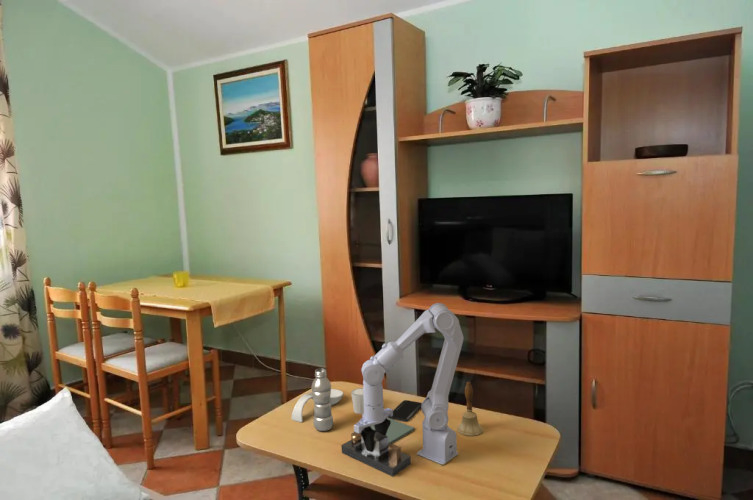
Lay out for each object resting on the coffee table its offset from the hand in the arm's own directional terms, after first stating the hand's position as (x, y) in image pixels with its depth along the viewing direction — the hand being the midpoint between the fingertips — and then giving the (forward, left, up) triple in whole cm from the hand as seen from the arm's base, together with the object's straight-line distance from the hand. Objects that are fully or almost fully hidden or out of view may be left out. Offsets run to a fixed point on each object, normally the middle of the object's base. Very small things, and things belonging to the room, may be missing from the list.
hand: (375, 447), depth 144 cm
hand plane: (0, 0, -3) cm, 3 cm away
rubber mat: (+9, -14, -3) cm, 17 cm away
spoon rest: (+40, -12, -4) cm, 42 cm away
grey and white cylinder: (+26, -21, -4) cm, 34 cm away
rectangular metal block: (0, 0, -1) cm, 1 cm away
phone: (+13, -30, -4) cm, 33 cm away
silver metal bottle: (+26, -3, -4) cm, 26 cm away
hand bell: (-12, -32, -4) cm, 34 cm away
